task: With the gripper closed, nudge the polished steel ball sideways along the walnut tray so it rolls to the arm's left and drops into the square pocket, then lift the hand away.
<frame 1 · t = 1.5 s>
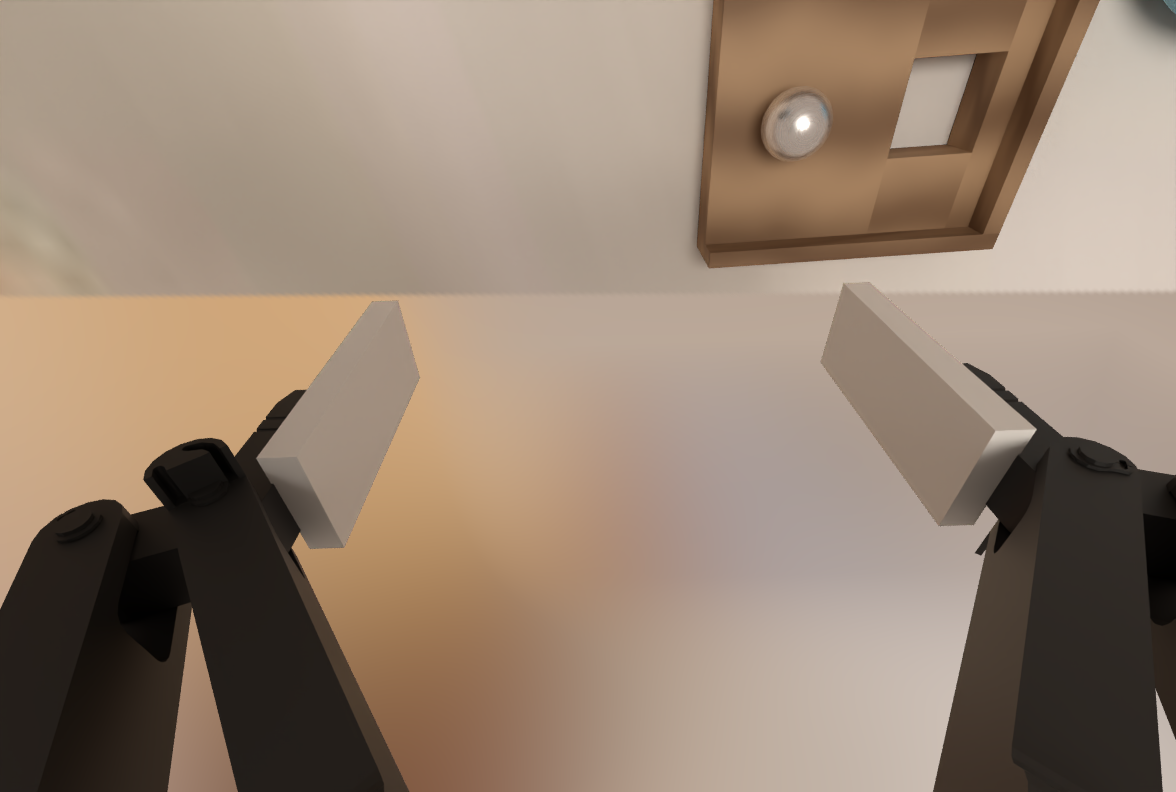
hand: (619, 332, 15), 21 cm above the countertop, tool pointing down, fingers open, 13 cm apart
ball: (784, 119, 29), point 2 cm above the countertop, touching tray
tray: (853, 107, 30), on the countertop
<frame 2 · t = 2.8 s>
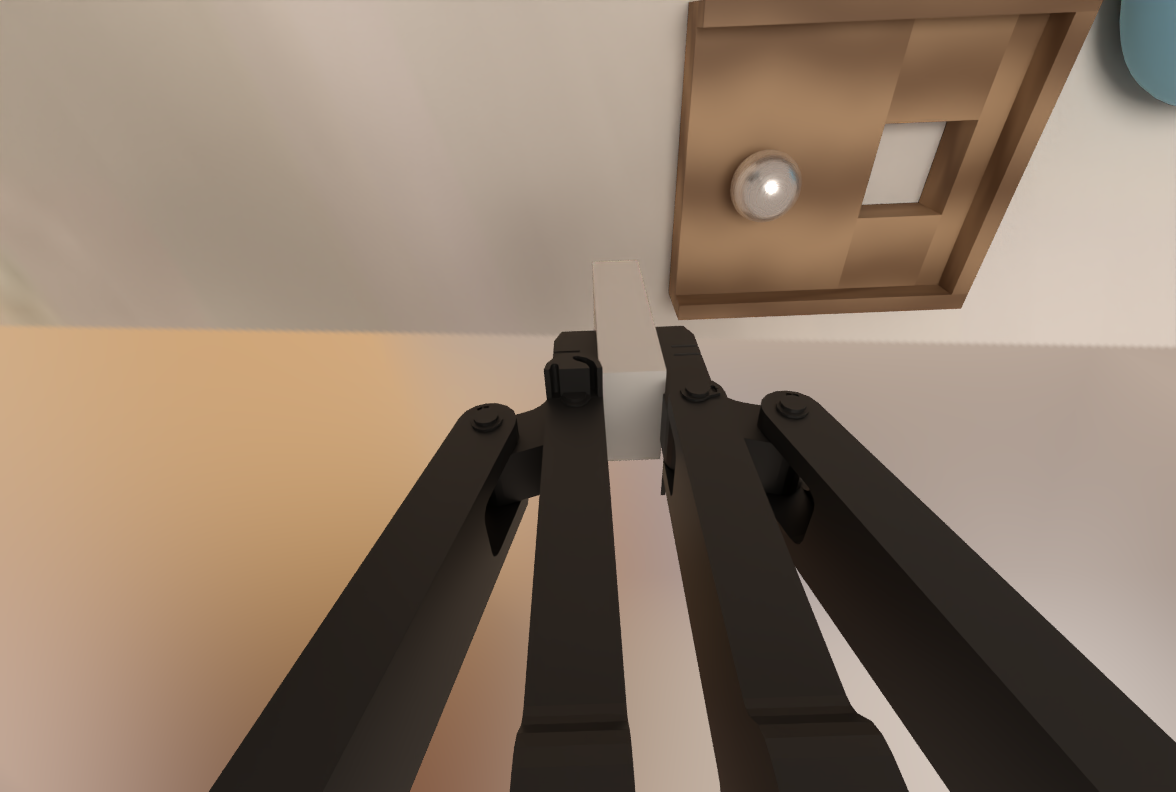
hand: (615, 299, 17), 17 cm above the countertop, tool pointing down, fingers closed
ball: (755, 178, 28), point 2 cm above the countertop, touching tray
tray: (826, 164, 30), on the countertop
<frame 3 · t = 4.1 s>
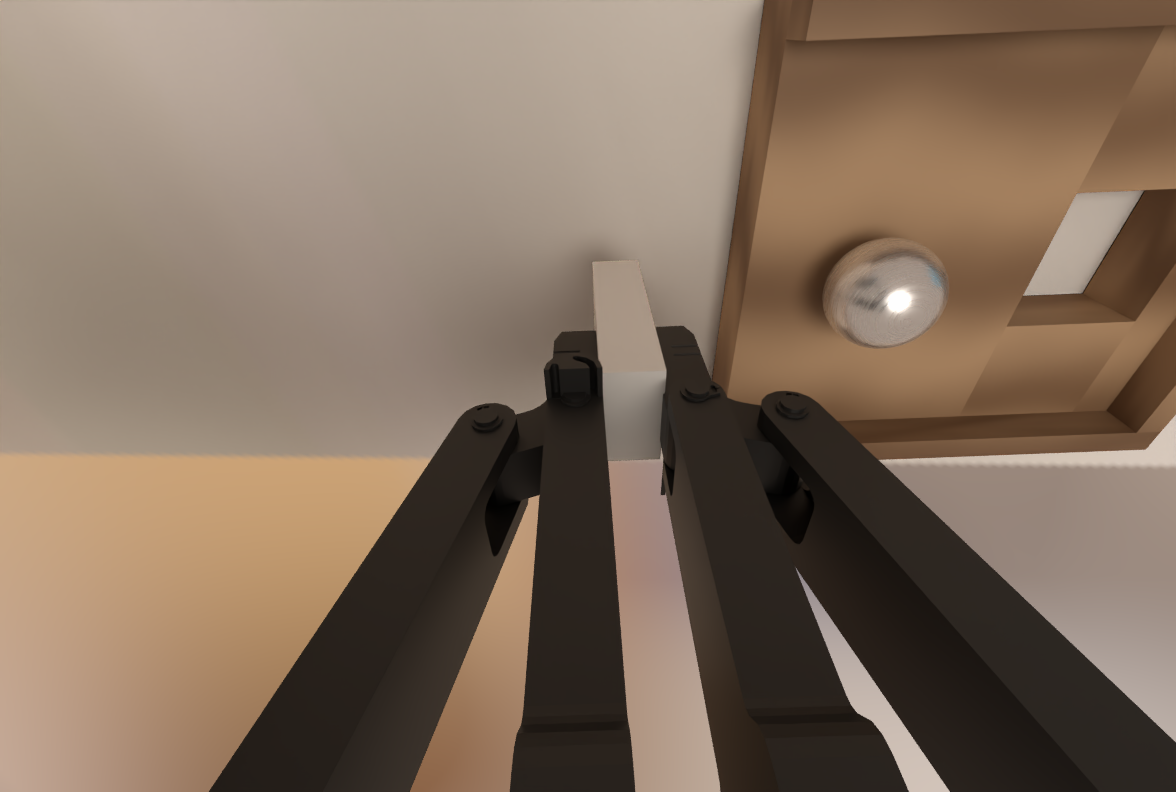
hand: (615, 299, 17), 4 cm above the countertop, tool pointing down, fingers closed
ball: (857, 272, 18), point 2 cm above the countertop, touching tray
tray: (954, 242, 20), on the countertop
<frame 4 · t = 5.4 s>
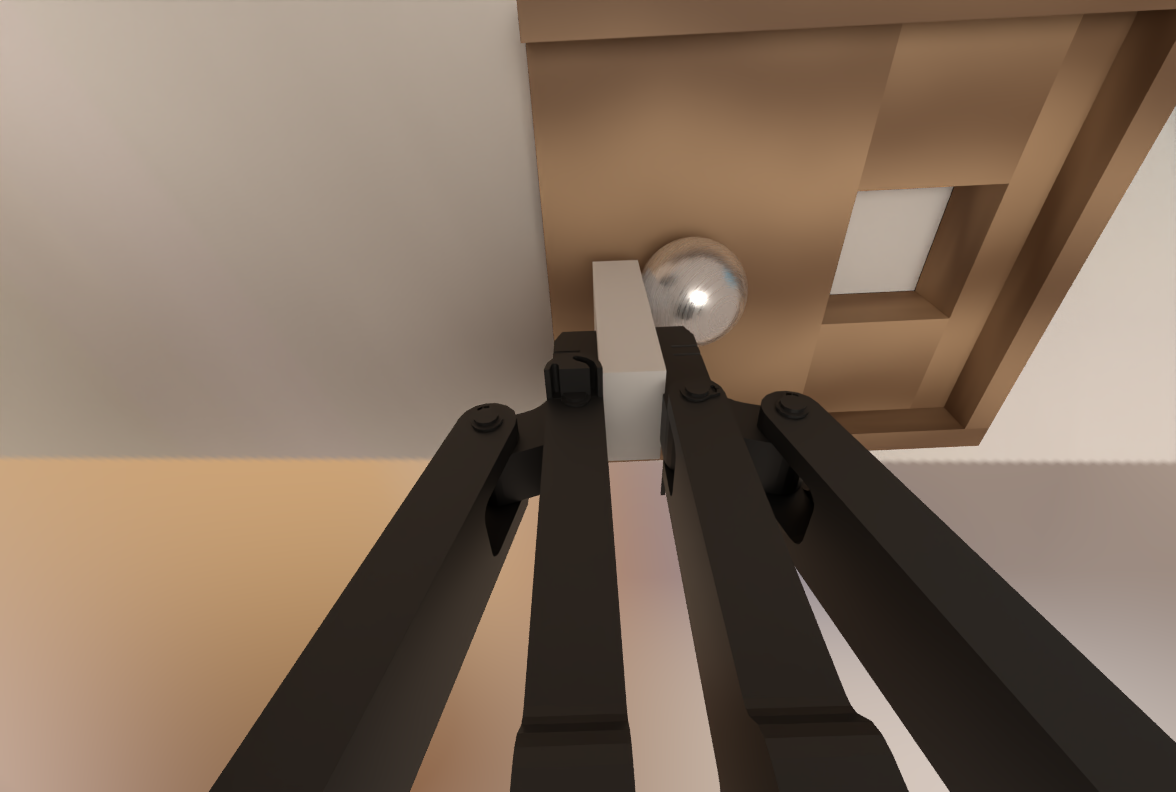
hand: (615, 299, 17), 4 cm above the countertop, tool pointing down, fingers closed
ball: (661, 274, 18), point 3 cm above the countertop, tilted 26°, touching tray
tray: (774, 241, 20), on the countertop
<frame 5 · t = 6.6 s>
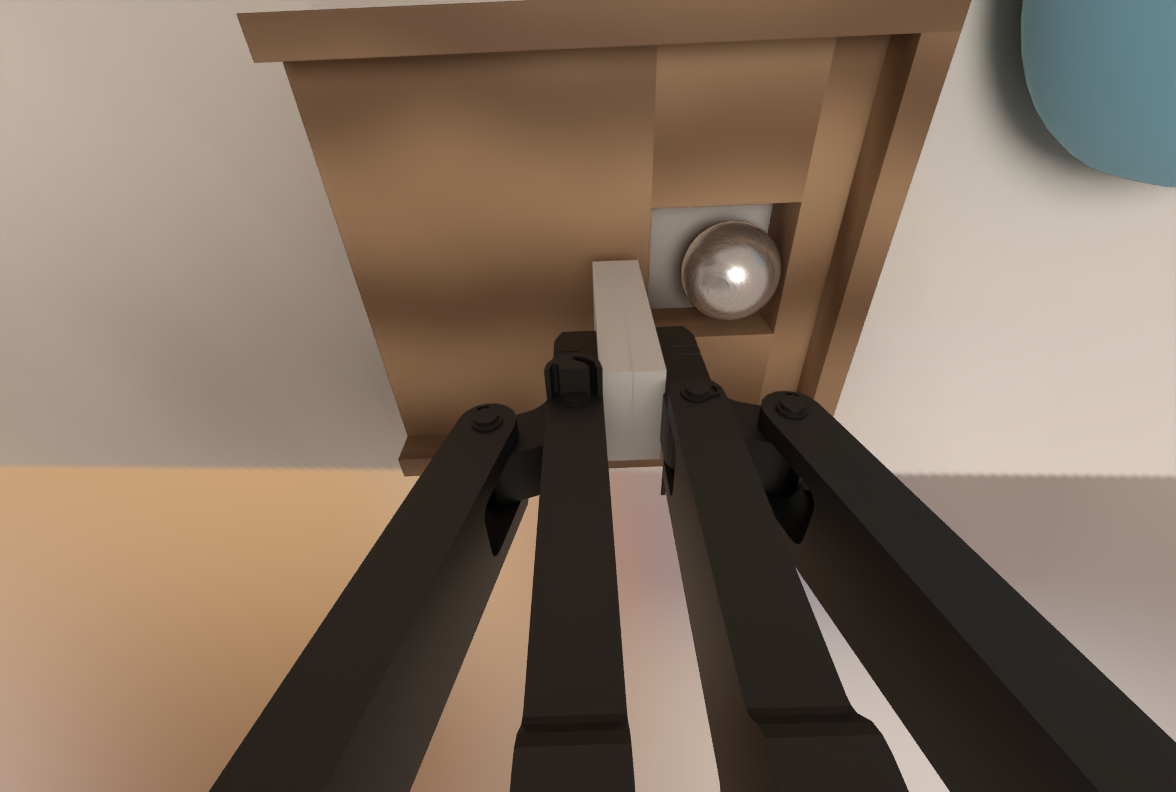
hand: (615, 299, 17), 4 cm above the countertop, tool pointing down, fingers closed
ball: (742, 255, 20), resting in tray, tilted 30°
tray: (603, 255, 20), on the countertop
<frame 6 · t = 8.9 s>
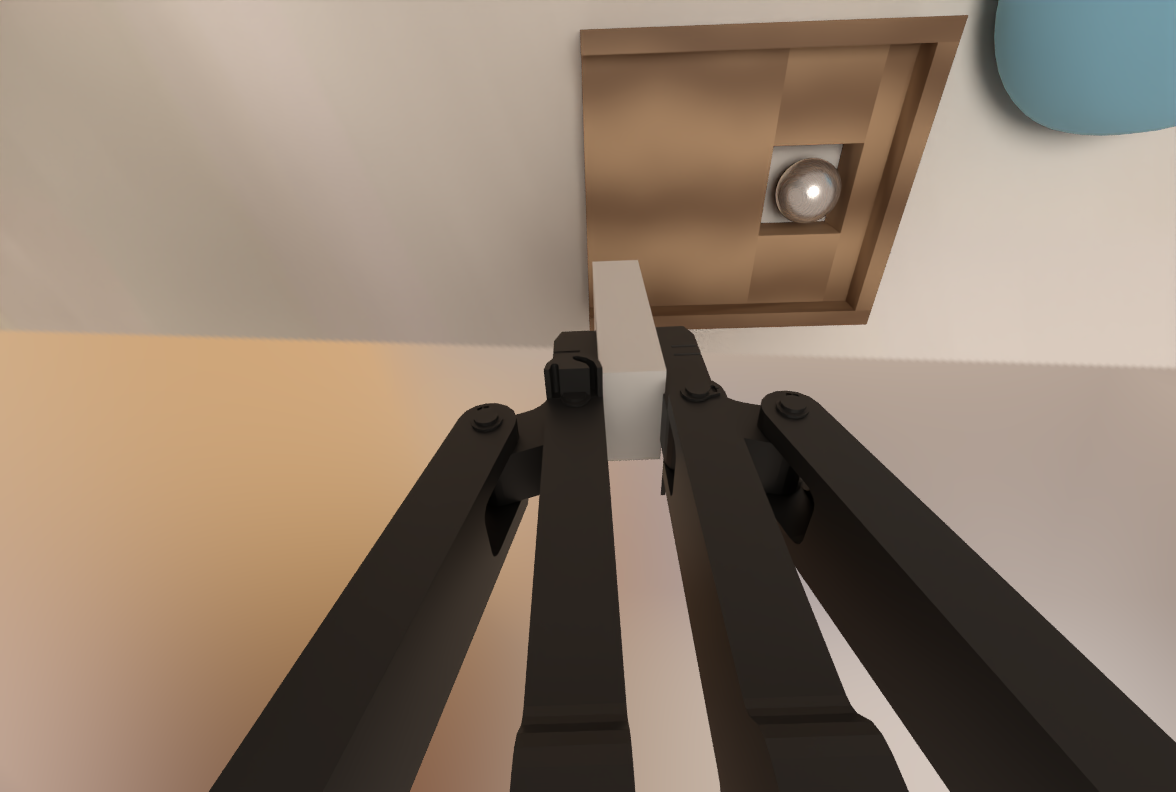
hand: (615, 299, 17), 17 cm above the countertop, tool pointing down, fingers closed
ball: (820, 185, 31), resting in tray, tilted 43°
tray: (729, 183, 31), on the countertop
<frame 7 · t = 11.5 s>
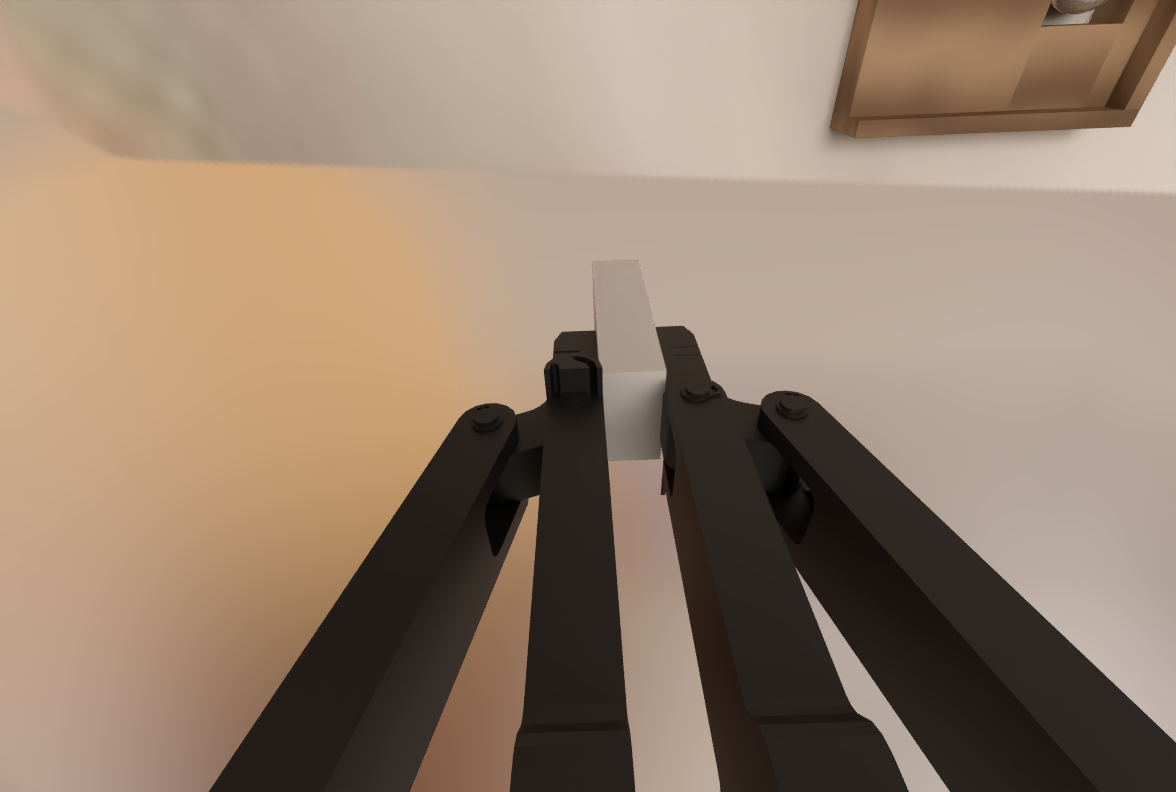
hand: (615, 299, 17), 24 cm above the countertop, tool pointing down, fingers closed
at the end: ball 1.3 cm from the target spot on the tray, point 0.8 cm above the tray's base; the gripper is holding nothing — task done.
